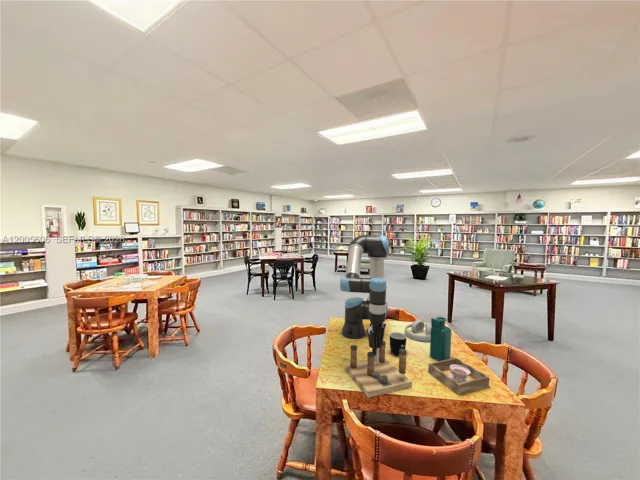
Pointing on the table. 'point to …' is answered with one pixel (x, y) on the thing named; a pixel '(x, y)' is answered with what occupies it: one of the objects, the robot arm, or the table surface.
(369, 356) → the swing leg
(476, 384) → the cup coaster tray
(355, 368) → the stool top
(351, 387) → the table surface
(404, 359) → the loose leg
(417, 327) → the headphones
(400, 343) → the mug
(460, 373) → the teacup
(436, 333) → the green bottle
